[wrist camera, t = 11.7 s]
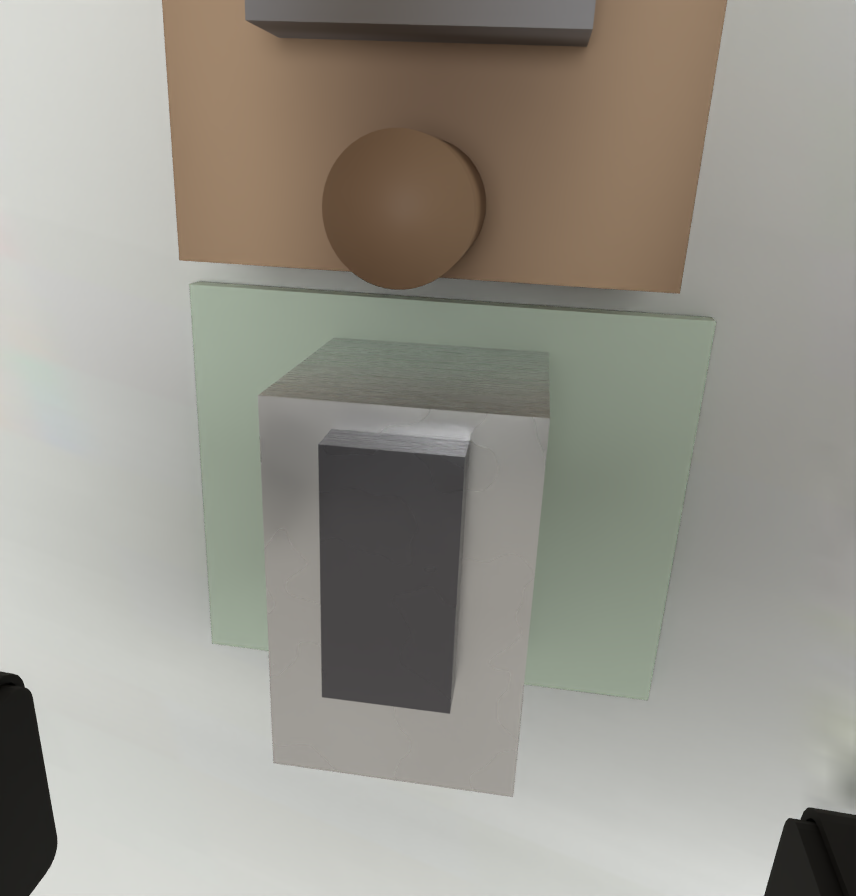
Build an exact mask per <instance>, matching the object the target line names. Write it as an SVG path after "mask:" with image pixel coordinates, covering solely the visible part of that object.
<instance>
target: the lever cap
mask: <svg viewBox="0 0 856 896" xmlns="http://www.w3.org/2000/svg"><path fill="white" fill-rule="evenodd" d="M258 415H259V438H260V461H261V484H262V508H263V531H264V554H265V577H266V600H267V624H268V647H269V670H270V693H271V717H272V740H273V763H277V764H284V765H291V766H298V767H305V768H312V769H319V770H326V771H333V772H341V773H348V774H355V775H362V776H369V777H376V778H383V779H390V780H397V781H404V782H411V783H418V784H425V785H432V786H439V787H446V788H454V789H461V790H468V791H475V792H482V793H489V794H496V795H503V796H510V797H513V791H514V781H515V771H516V761H517V751H518V741H519V730H520V720H521V710H522V700H523V690H524V680H525V669H526V659H527V649H528V639H529V629H530V618H531V608H532V598H533V588H534V578H535V568H536V557H537V547H538V537H539V527H540V517H541V506H542V496H543V486H544V476H545V466H546V456H547V445H548V435H549V425H550V391H549V352H538V351H523V350H509V349H494V348H480V347H465V346H450V345H436V344H421V343H406V342H392V341H377V340H362V339H348V338H332V339H331V340H330V341H328V342H327V343H326V344H325V345H323V346H322V347H321V348H319V349H318V350H317V351H315V352H314V353H313V354H311V355H310V356H309V357H307V358H306V359H305V360H304V361H302V362H301V363H300V364H298V365H297V366H296V367H294V368H293V369H292V370H290V371H289V372H288V373H286V374H285V375H284V376H283V377H281V378H280V379H279V380H277V381H276V382H275V383H273V384H272V385H271V386H269V387H268V388H267V389H265V390H264V391H263V392H262V393H260V394H259V395H258Z"/></svg>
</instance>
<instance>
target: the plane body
mask: <svg viewBox="0 0 856 896" xmlns="http://www.w3.org/2000/svg"><path fill="white" fill-rule="evenodd" d="M726 5H727V0H162V8H163V22H164V37H165V52H166V67H167V82H168V97H169V112H170V127H171V142H172V157H173V171H174V186H175V201H176V216H177V231H178V246H179V260H183V261H198V262H213V263H228V264H243V265H258V266H273V267H288V268H303V269H318V270H333V271H348V272H353V273H354V274H355V275H356V276H358V277H359V278H361V279H363V280H364V281H366V282H368V283H371V284H373V285H375V286H379V287H383V288H388V289H411V288H416V287H420V286H423V285H426V284H428V283H430V282H432V281H434V280H436V279H437V278H453V279H468V280H483V281H498V282H513V283H529V284H544V285H559V286H574V287H589V288H604V289H619V290H634V291H649V292H664V293H679V294H680V289H681V283H682V277H683V271H684V265H685V259H686V252H687V246H688V240H689V234H690V228H691V221H692V215H693V209H694V203H695V197H696V190H697V184H698V178H699V172H700V166H701V159H702V153H703V147H704V141H705V135H706V128H707V122H708V116H709V110H710V104H711V98H712V91H713V85H714V79H715V73H716V67H717V60H718V54H719V48H720V42H721V36H722V29H723V23H724V17H725V11H726Z"/></svg>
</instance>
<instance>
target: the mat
mask: <svg viewBox="0 0 856 896" xmlns="http://www.w3.org/2000/svg"><path fill="white" fill-rule="evenodd" d="M189 286H190V302H191V318H192V334H193V350H194V365H195V381H196V397H197V413H198V429H199V444H200V460H201V476H202V492H203V507H204V523H205V539H206V555H207V571H208V586H209V602H210V618H211V634H212V644H219V645H227V646H234V647H242V648H250V649H257V650H265V651H269V647H268V624H267V600H266V577H265V554H264V531H263V508H262V484H261V461H260V438H259V415H258V395H259V394H260V393H262V392H263V391H264V390H265V389H267V388H268V387H269V386H271V385H272V384H273V383H275V382H276V381H277V380H279V379H280V378H281V377H283V376H284V375H285V374H286V373H288V372H289V371H290V370H292V369H293V368H294V367H296V366H297V365H298V364H300V363H301V362H302V361H304V360H305V359H306V358H307V357H309V356H310V355H311V354H313V353H314V352H315V351H317V350H318V349H319V348H321V347H322V346H323V345H325V344H326V343H327V342H328V341H330V340H331V339H332V338H348V339H362V340H377V341H392V342H406V343H421V344H436V345H450V346H465V347H480V348H494V349H509V350H523V351H538V352H549V391H550V425H549V435H548V445H547V456H546V466H545V476H544V486H543V496H542V506H541V517H540V527H539V537H538V547H537V557H536V568H535V578H534V588H533V598H532V608H531V618H530V629H529V639H528V649H527V659H526V669H525V680H524V684H525V685H533V686H540V687H548V688H556V689H563V690H571V691H579V692H586V693H594V694H602V695H609V696H617V697H625V698H632V699H640V700H648V698H649V692H650V687H651V681H652V676H653V670H654V664H655V659H656V653H657V648H658V642H659V637H660V631H661V626H662V620H663V615H664V609H665V604H666V598H667V593H668V587H669V581H670V576H671V570H672V565H673V559H674V554H675V548H676V543H677V537H678V532H679V526H680V521H681V515H682V509H683V504H684V498H685V493H686V487H687V482H688V476H689V471H690V465H691V460H692V454H693V449H694V443H695V437H696V432H697V426H698V421H699V415H700V410H701V404H702V399H703V393H704V388H705V382H706V377H707V371H708V365H709V360H710V354H711V349H712V343H713V338H714V332H715V327H716V321H715V320H714V319H713V318H712V317H698V316H684V315H670V314H656V313H641V312H627V311H613V310H598V309H584V308H570V307H555V306H541V305H527V304H513V303H498V302H484V301H470V300H455V299H441V298H427V297H412V296H398V295H384V294H370V293H355V292H341V291H327V290H312V289H298V288H284V287H270V286H255V285H241V284H227V283H212V282H195V283H192V284H189Z"/></svg>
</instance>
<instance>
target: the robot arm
mask: <svg viewBox="0 0 856 896" xmlns="http://www.w3.org/2000/svg"><path fill="white" fill-rule="evenodd" d="M56 850H57V834H56V828H55V822H54V817H53V811H52V805H51V800H50V794H49V788H48V782H47V777H46V771H45V765H44V759H43V754H42V748H41V742H40V737H39V731H38V725H37V719H36V714H35V708H34V702H33V697H32V694H31V692H30V691H29V690H28V689H27V688H25V686H24V683H23V681H22V679H21V678H20V677H19V676H18V675H15V674H11V673H5V672H0V896H29V895H30V894H31V893H32V891H33V890H34V889H35V887H36V886H37V885H38V883H39V882H40V881H41V879H42V878H43V877H44V875H45V874H46V872H47V871H48V869H49V868H50V866H51V864H52V862H53V860H54V857H55V854H56ZM764 896H856V815H852V814H846V813H840V812H834V811H828V810H822V809H816V808H807V809H806V810H805V811H804V812H803V815H802V817H801V820H798V819H792V818H789V819H788V820H787V821H786V822H785V825H784V828H783V831H782V835H781V838H780V842H779V845H778V849H777V852H776V856H775V859H774V863H773V866H772V870H771V874H770V877H769V881H768V884H767V888H766V891H765V895H764Z"/></svg>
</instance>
